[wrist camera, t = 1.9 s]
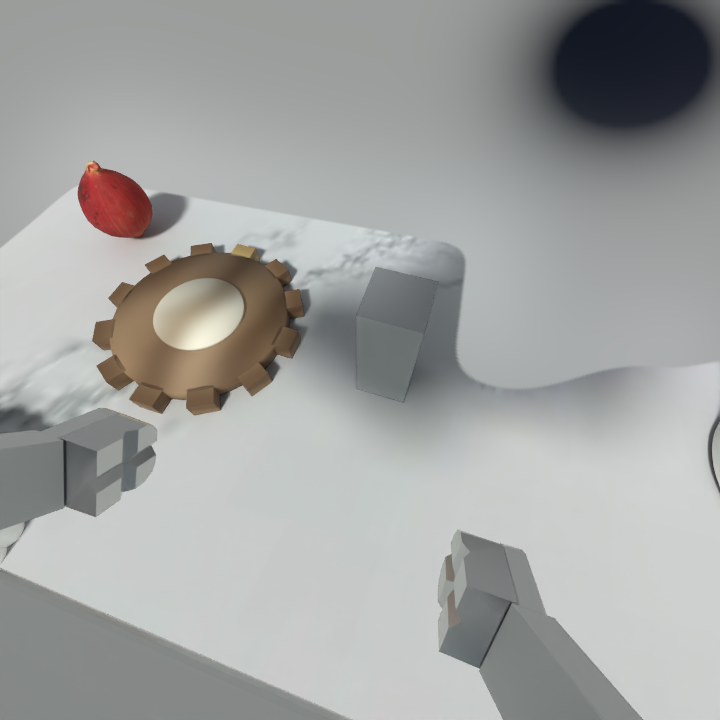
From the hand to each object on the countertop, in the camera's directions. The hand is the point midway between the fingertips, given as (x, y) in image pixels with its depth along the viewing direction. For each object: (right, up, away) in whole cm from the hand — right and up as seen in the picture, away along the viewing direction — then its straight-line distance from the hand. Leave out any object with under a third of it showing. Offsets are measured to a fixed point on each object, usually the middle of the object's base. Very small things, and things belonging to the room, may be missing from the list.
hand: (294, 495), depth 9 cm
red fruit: (-22, +17, +29) cm, 40 cm away
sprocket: (-12, +7, +23) cm, 27 cm away
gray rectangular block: (+4, +2, +20) cm, 21 cm away
